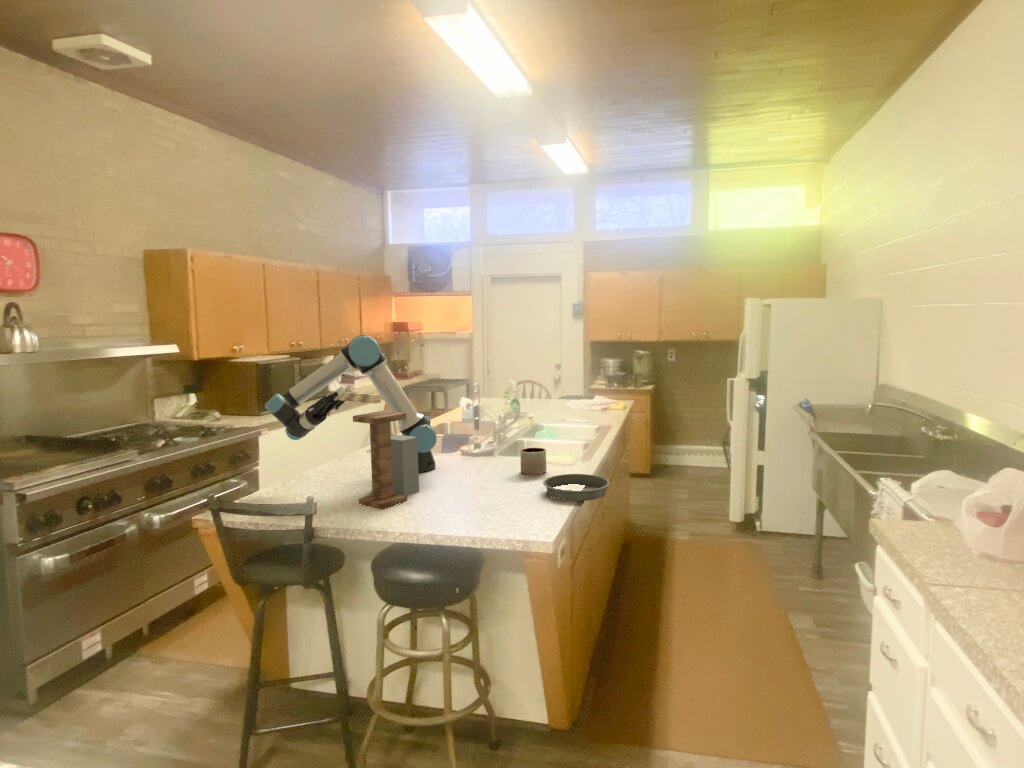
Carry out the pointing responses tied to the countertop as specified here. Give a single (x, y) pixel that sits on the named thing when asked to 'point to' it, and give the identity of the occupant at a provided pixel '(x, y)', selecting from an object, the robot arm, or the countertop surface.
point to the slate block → (404, 464)
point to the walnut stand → (381, 459)
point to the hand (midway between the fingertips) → (347, 388)
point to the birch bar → (359, 397)
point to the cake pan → (591, 491)
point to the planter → (533, 460)
